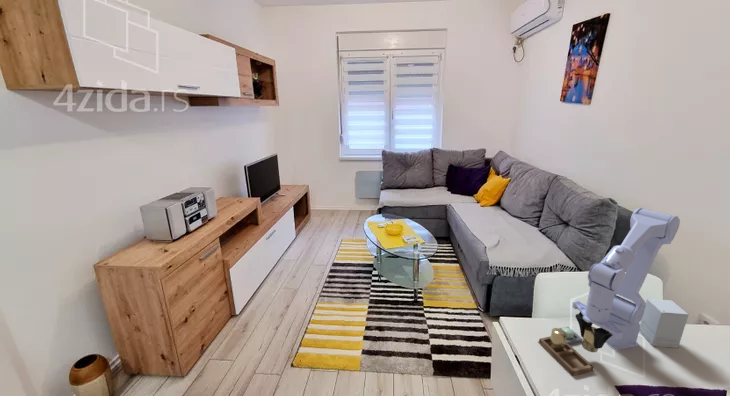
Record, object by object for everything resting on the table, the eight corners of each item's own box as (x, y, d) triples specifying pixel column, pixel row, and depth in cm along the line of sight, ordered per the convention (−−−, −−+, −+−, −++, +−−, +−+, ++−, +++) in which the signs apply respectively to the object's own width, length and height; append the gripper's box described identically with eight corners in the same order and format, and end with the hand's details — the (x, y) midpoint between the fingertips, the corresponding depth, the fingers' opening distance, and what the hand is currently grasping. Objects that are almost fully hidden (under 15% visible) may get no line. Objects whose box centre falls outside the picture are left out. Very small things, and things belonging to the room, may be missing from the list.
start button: (567, 331, 107) (568, 326, 106) (576, 338, 103) (577, 333, 103) (557, 333, 106) (558, 328, 105) (566, 341, 103) (567, 336, 102)
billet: (589, 341, 98) (593, 325, 96) (601, 350, 94) (605, 334, 92) (578, 343, 97) (581, 327, 95) (590, 353, 93) (593, 337, 91)
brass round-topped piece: (557, 342, 102) (559, 327, 101) (566, 351, 99) (570, 335, 97) (546, 344, 102) (548, 329, 100) (555, 354, 98) (558, 338, 96)
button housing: (567, 330, 108) (567, 326, 108) (581, 342, 103) (582, 339, 102) (551, 333, 107) (552, 329, 107) (566, 346, 101) (566, 342, 101)
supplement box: (679, 348, 99) (690, 314, 95) (651, 346, 100) (661, 312, 96) (663, 332, 106) (672, 299, 102) (637, 329, 107) (646, 297, 103)
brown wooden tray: (557, 338, 105) (558, 334, 104) (594, 372, 92) (595, 367, 91) (537, 343, 103) (537, 338, 103) (571, 378, 90) (572, 372, 90)
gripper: (567, 291, 97) (560, 327, 101) (611, 322, 83) (601, 363, 87) (586, 287, 98) (579, 323, 102) (633, 317, 85) (623, 358, 89)
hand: (591, 341), depth 95 cm, fingers closed on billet, 4 cm apart
